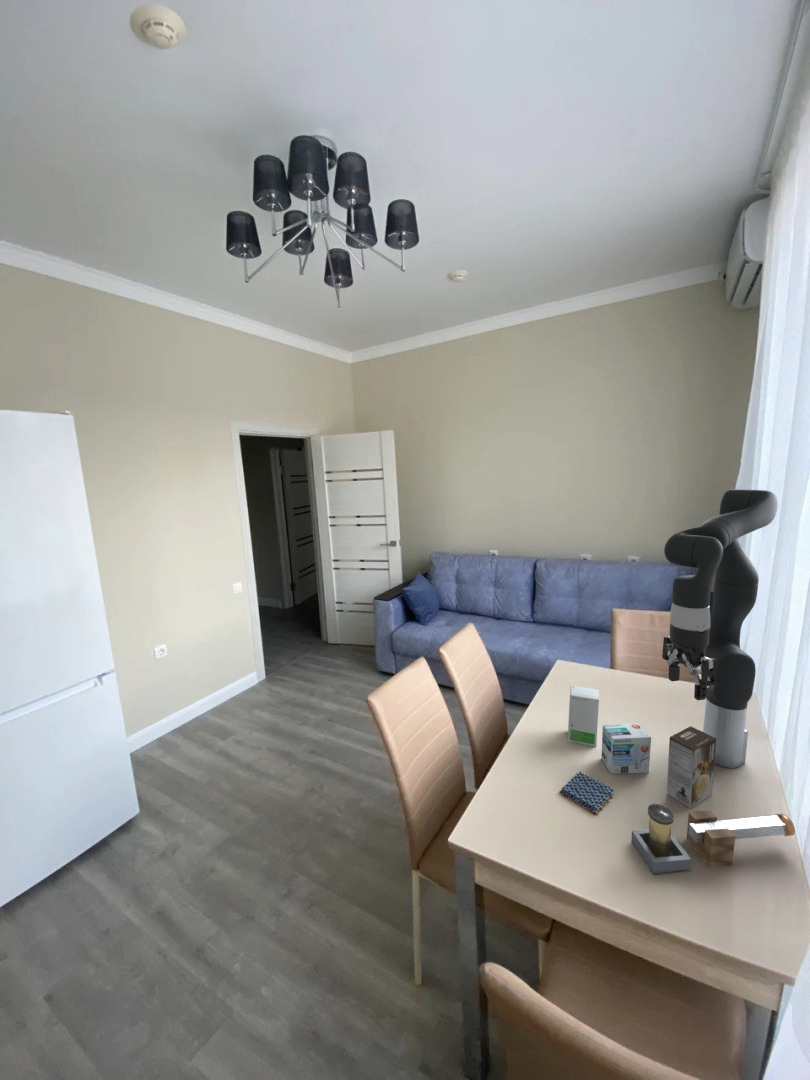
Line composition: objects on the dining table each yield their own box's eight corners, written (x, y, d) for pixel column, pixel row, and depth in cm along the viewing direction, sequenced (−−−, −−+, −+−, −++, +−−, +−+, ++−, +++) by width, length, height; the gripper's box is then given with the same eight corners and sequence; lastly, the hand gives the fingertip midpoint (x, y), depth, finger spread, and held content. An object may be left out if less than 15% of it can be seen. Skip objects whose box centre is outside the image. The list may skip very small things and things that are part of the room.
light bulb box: (611, 774, 120) (612, 739, 118) (600, 758, 126) (601, 724, 124) (650, 773, 120) (652, 737, 118) (637, 756, 126) (639, 722, 124)
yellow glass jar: (662, 842, 98) (664, 802, 96) (676, 861, 93) (679, 820, 91) (641, 844, 97) (643, 804, 96) (654, 863, 93) (656, 822, 91)
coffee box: (686, 779, 116) (690, 724, 114) (712, 795, 111) (717, 737, 108) (665, 793, 112) (669, 736, 109) (691, 809, 107) (695, 750, 104)
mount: (707, 837, 99) (710, 809, 98) (732, 865, 92) (735, 836, 91) (686, 839, 99) (688, 811, 98) (709, 867, 92) (712, 838, 91)
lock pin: (777, 825, 98) (779, 809, 97) (793, 840, 94) (795, 824, 93) (685, 833, 97) (687, 817, 96) (698, 849, 93) (700, 832, 92)
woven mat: (616, 795, 113) (617, 788, 112) (596, 818, 106) (597, 811, 106) (578, 775, 121) (578, 768, 120) (557, 795, 114) (557, 788, 114)
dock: (665, 838, 99) (666, 827, 99) (690, 871, 91) (691, 859, 91) (631, 842, 99) (631, 830, 98) (652, 874, 91) (653, 862, 90)
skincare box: (567, 742, 134) (568, 695, 131) (568, 729, 140) (569, 684, 137) (597, 747, 131) (599, 699, 128) (597, 734, 137) (598, 688, 134)
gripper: (653, 613, 105) (651, 676, 108) (696, 636, 91) (692, 708, 94) (683, 610, 106) (680, 673, 109) (730, 633, 92) (726, 704, 95)
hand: (686, 689), depth 101 cm, fingers open, 8 cm apart
